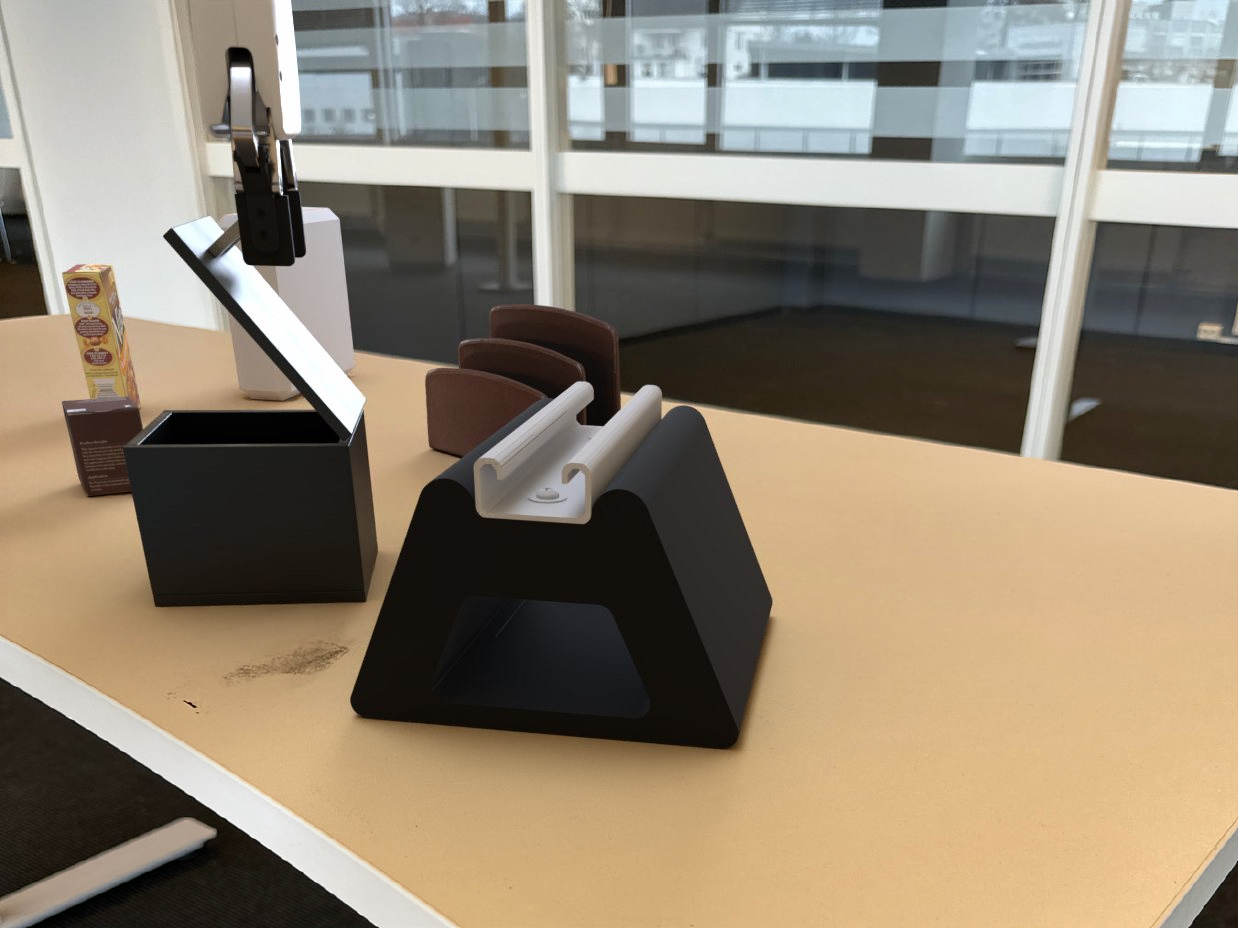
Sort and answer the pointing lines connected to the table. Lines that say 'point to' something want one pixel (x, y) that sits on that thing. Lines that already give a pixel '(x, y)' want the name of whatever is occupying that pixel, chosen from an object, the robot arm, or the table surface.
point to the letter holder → (521, 374)
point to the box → (102, 441)
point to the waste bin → (253, 508)
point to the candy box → (100, 331)
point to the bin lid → (268, 320)
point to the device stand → (575, 585)
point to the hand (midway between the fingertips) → (276, 257)
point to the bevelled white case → (300, 306)
